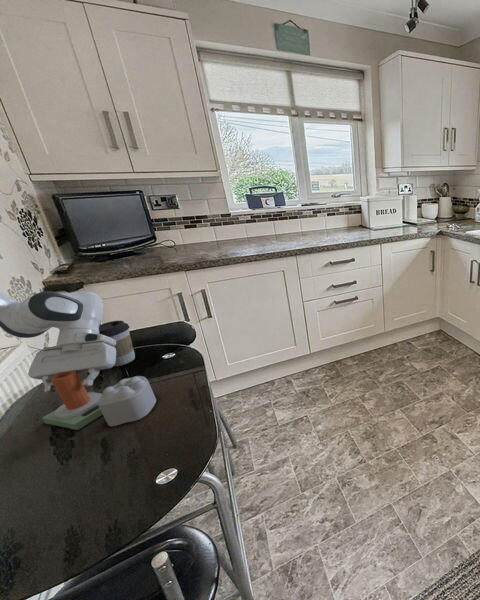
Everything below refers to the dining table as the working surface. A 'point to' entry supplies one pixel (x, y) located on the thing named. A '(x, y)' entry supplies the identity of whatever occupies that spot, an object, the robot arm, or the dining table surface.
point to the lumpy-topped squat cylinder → (127, 401)
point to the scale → (75, 414)
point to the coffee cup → (119, 340)
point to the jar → (70, 389)
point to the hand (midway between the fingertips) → (68, 388)
